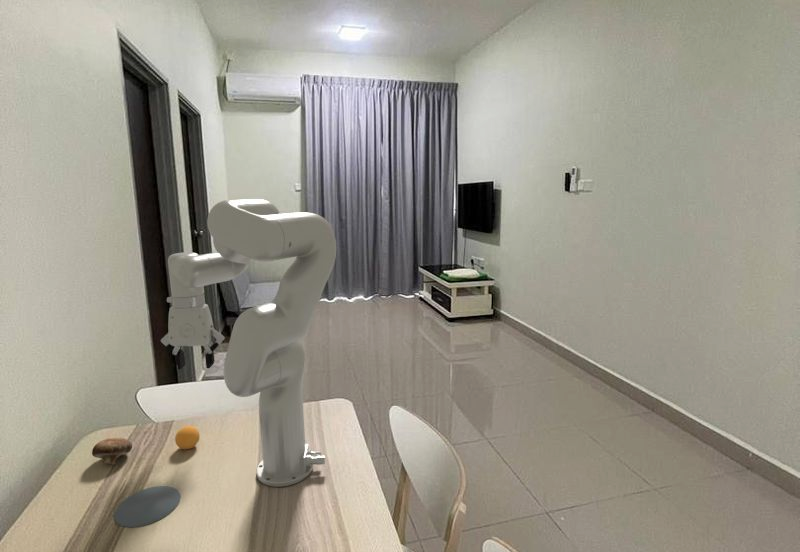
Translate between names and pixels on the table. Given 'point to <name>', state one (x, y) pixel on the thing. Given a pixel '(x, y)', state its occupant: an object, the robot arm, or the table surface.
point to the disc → (147, 506)
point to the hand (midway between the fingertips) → (195, 366)
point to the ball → (187, 437)
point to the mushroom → (111, 449)
